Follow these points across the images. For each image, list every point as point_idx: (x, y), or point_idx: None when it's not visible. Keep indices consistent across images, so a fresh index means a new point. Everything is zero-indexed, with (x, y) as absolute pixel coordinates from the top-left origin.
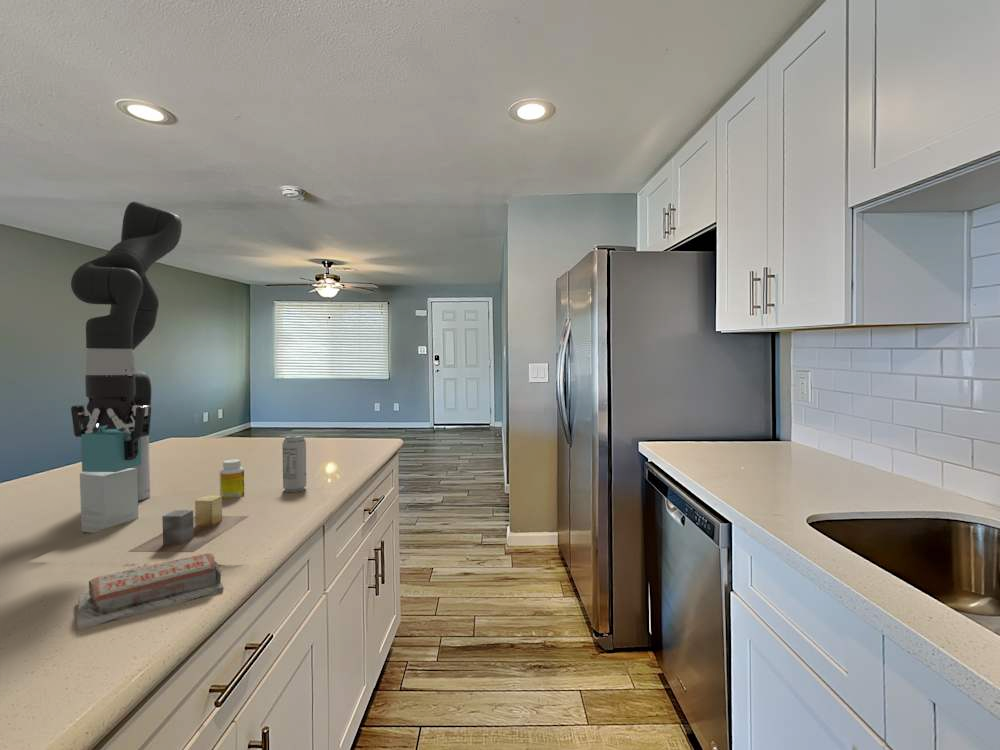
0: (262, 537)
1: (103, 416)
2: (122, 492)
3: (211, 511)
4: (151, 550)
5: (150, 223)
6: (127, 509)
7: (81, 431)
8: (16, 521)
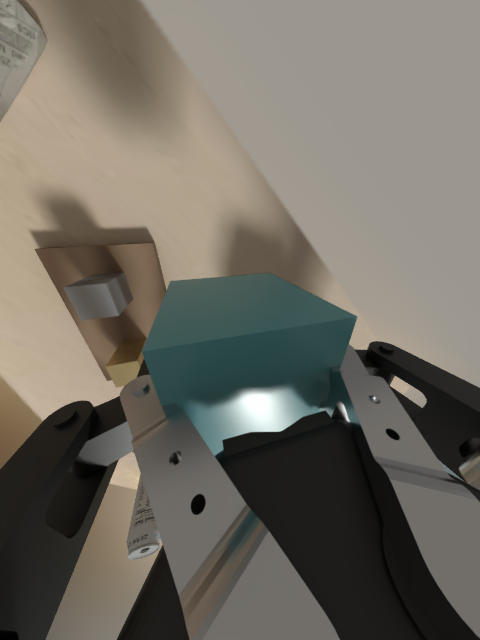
0: (28, 339)
1: (353, 501)
2: None
3: (113, 354)
4: (118, 248)
5: None
6: None
7: (383, 363)
8: (360, 325)
